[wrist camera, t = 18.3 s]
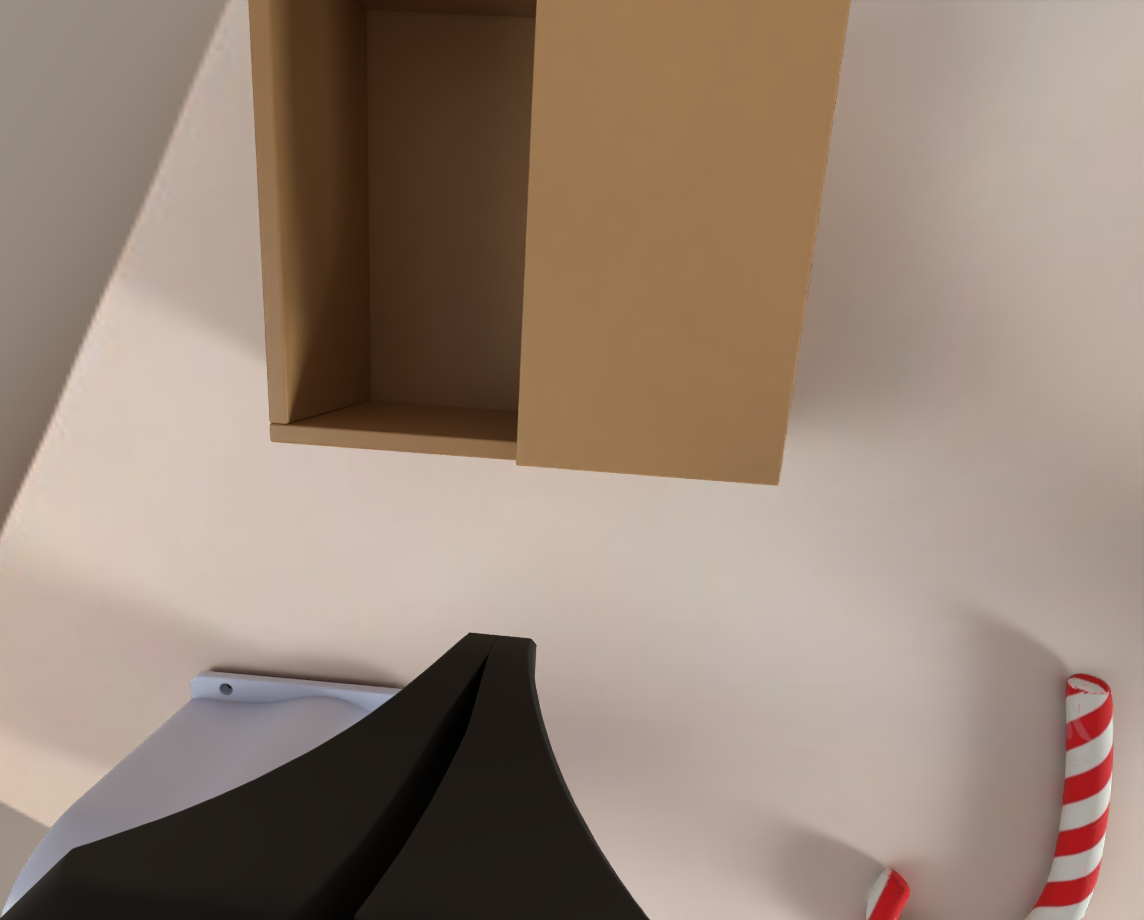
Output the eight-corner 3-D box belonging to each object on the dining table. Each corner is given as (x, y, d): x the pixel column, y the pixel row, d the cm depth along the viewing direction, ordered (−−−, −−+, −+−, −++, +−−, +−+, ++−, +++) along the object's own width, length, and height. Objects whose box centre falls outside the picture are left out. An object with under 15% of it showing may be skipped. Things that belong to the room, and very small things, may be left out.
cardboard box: (776, 19, 18) (862, -138, 12) (724, 437, 20) (773, 479, 15) (357, 0, 18) (239, -160, 12) (363, 411, 21) (269, 442, 15)
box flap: (867, -152, 11) (877, -170, 11) (774, 482, 14) (779, 486, 14) (546, -160, 12) (543, -178, 11) (518, 461, 14) (515, 465, 14)
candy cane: (1202, 708, 20) (1039, 1023, 23) (1167, 685, 21) (1017, 988, 25) (983, 661, 20) (852, 982, 24) (961, 641, 22) (839, 948, 25)
